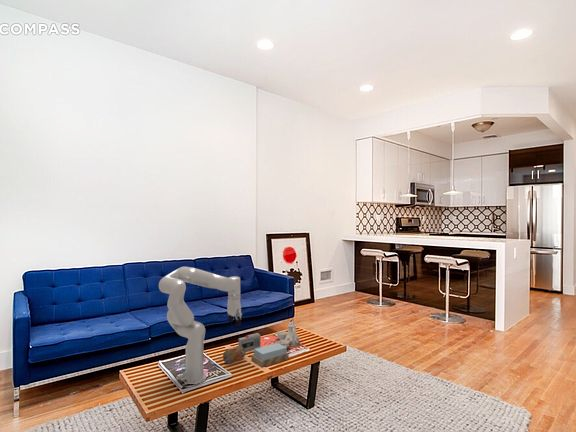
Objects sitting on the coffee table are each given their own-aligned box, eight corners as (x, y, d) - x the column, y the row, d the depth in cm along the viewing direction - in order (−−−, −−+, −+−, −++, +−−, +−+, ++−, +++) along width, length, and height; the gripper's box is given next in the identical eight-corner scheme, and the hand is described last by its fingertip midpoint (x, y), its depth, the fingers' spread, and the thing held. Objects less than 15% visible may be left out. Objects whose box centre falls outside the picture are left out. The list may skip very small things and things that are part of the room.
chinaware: (274, 340, 253) (271, 318, 253) (295, 336, 256) (293, 314, 256) (279, 355, 226) (277, 330, 225) (304, 350, 229) (301, 326, 228)
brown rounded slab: (224, 365, 206) (224, 351, 206) (221, 363, 209) (222, 349, 209) (245, 358, 216) (245, 345, 216) (243, 357, 218) (243, 344, 218)
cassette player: (240, 353, 224) (240, 338, 225) (238, 352, 227) (238, 337, 227) (260, 348, 234) (260, 333, 234) (258, 346, 236) (258, 332, 236)
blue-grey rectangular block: (262, 360, 204) (262, 354, 204) (253, 355, 212) (254, 349, 212) (286, 353, 215) (286, 347, 215) (277, 349, 223) (277, 342, 223)
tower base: (261, 368, 203) (261, 361, 203) (251, 361, 213) (251, 355, 213) (288, 360, 215) (288, 353, 215) (277, 354, 225) (277, 347, 225)
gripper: (222, 295, 217) (223, 321, 217) (235, 300, 203) (235, 329, 203) (233, 293, 221) (233, 319, 221) (246, 298, 207) (246, 326, 207)
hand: (234, 324), depth 212 cm, fingers open, 9 cm apart
